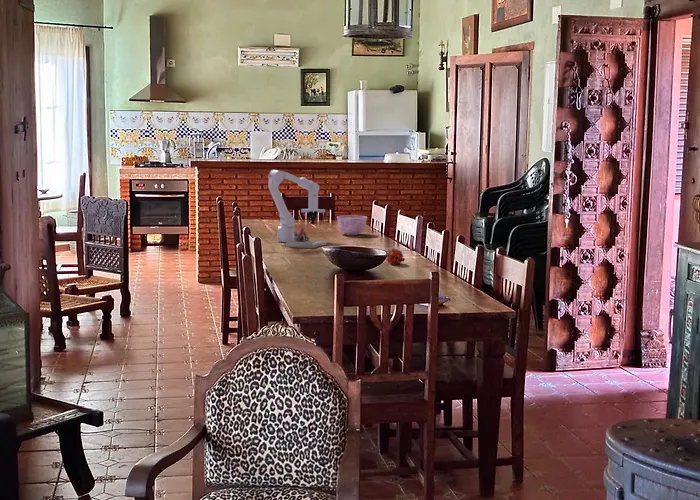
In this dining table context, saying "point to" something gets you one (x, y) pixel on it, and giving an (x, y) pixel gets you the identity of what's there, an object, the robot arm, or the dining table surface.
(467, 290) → the dining table surface
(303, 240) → the brake caliper
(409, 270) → the dining table surface
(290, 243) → the receiver
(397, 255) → the dragon fruit
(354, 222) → the purple rounded bowl
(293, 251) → the dining table surface
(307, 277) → the dining table surface
